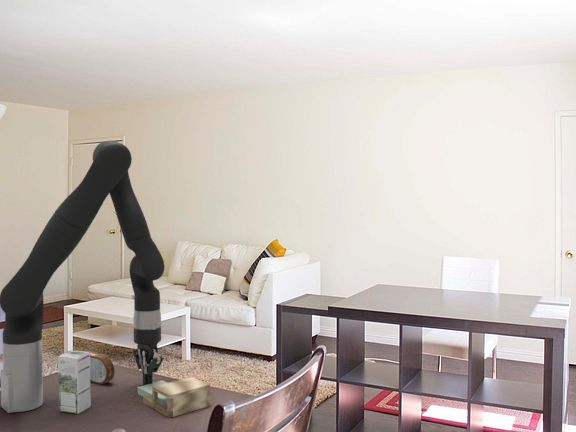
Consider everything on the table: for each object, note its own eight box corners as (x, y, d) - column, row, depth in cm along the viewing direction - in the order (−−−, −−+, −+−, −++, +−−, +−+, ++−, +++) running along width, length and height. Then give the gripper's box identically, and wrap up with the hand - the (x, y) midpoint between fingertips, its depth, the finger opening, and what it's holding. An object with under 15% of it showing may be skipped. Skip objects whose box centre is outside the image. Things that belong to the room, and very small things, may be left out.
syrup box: (91, 406, 150) (91, 351, 149) (77, 414, 144) (76, 357, 144) (72, 404, 151) (72, 349, 151) (57, 412, 146) (57, 355, 145)
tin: (115, 384, 167) (115, 355, 167) (106, 387, 164) (106, 358, 164) (81, 375, 175) (81, 347, 175) (72, 378, 172) (72, 350, 172)
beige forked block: (169, 417, 142) (169, 395, 142) (142, 403, 152) (142, 382, 152) (209, 405, 151) (209, 384, 150) (181, 392, 160) (181, 372, 160)
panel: (167, 411, 148) (167, 401, 148) (137, 396, 159) (137, 387, 159) (193, 403, 154) (193, 393, 154) (162, 389, 165) (162, 380, 165)
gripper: (123, 323, 164) (124, 383, 165) (147, 331, 155) (147, 395, 155) (147, 319, 169) (147, 377, 170) (171, 327, 160) (171, 389, 161)
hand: (147, 386), depth 163 cm, fingers closed
